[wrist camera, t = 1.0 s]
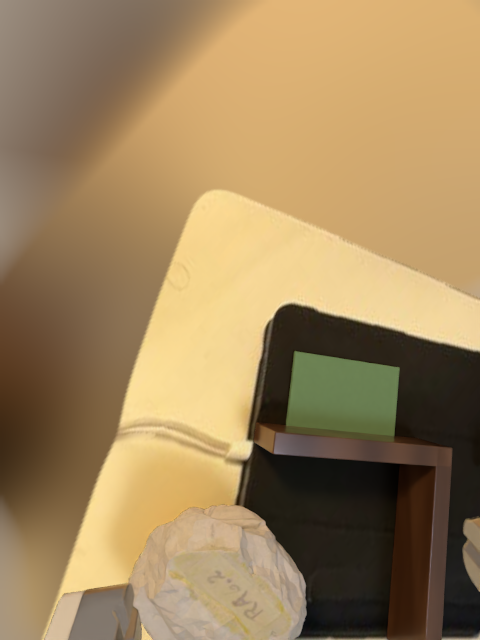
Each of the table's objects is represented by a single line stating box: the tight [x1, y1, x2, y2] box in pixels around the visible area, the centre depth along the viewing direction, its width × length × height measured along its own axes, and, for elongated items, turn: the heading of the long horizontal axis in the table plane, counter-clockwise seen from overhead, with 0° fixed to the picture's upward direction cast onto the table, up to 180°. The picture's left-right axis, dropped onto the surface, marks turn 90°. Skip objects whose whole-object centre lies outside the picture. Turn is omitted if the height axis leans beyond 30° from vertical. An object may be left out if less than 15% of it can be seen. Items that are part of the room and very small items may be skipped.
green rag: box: [286, 351, 399, 436], centre depth 32 cm, size 10×6×1 cm, turn 83°
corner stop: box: [254, 422, 452, 640], centre depth 29 cm, size 15×16×4 cm
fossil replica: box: [128, 505, 307, 640], centre depth 24 cm, size 12×8×10 cm
